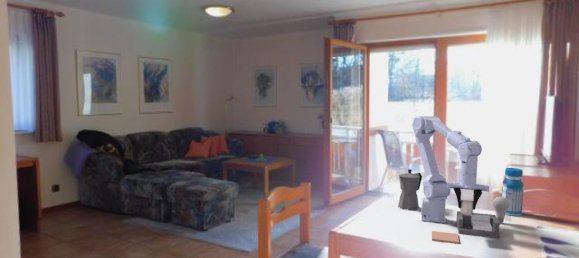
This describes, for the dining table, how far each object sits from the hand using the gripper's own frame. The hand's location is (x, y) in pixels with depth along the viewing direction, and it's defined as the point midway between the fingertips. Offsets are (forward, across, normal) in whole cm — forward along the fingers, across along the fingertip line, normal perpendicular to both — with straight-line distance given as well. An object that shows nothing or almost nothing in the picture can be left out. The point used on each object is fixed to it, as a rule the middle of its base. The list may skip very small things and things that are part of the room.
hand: (466, 208), depth 155 cm
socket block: (+9, +4, +3) cm, 11 cm away
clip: (+4, +4, -9) cm, 10 cm away
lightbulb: (+9, +15, +17) cm, 24 cm away
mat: (+9, -8, -10) cm, 16 cm away
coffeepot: (+10, -21, +28) cm, 37 cm away
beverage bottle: (+9, +22, +34) cm, 41 cm away
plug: (+2, 0, 0) cm, 2 cm away
